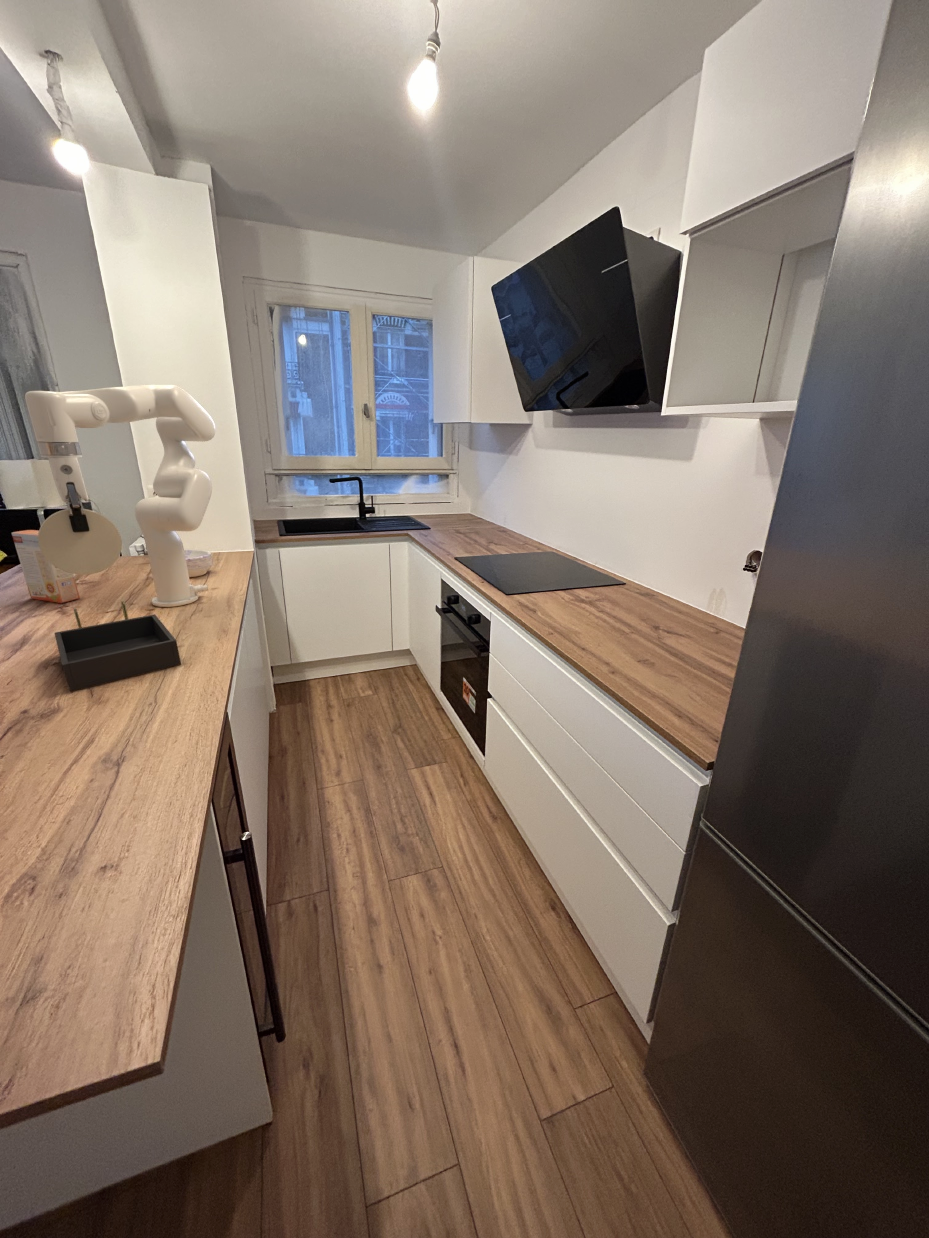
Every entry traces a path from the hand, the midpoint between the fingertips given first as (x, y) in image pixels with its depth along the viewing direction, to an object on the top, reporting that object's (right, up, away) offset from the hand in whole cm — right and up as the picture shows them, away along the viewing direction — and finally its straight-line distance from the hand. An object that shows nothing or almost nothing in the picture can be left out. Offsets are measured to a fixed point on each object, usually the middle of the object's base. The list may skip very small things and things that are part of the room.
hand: (81, 530), depth 117 cm
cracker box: (-35, -15, +34) cm, 51 cm away
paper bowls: (-9, -5, +64) cm, 64 cm away
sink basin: (+14, -31, -6) cm, 34 cm away
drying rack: (-1, -25, +10) cm, 27 cm away
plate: (0, -10, +4) cm, 11 cm away
